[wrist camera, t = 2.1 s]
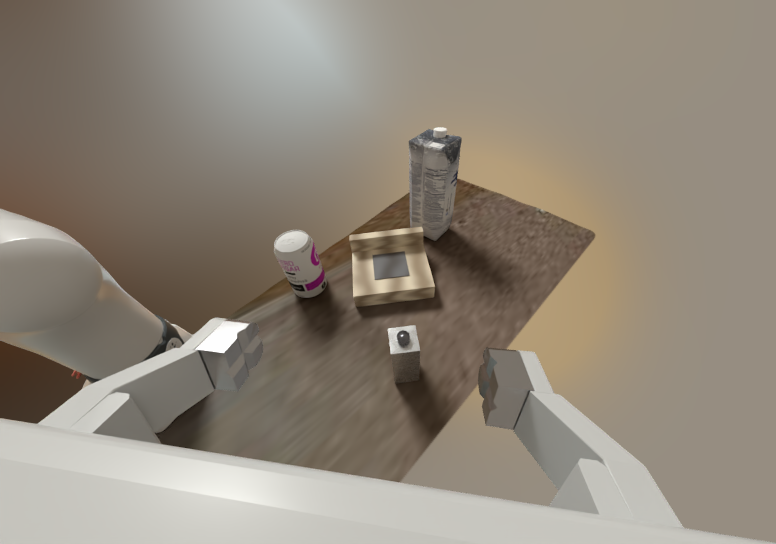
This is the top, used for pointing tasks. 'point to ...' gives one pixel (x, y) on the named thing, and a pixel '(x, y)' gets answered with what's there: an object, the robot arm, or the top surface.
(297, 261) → the supplement can
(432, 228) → the juice carton
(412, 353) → the square capped bottle
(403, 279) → the birch stand
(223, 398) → the top surface
